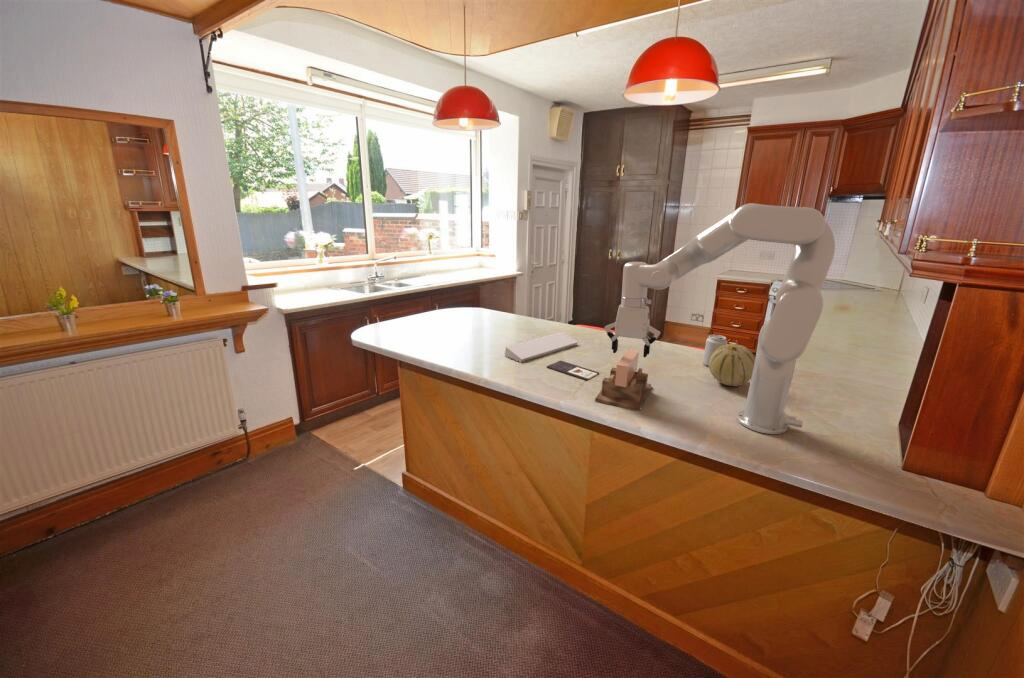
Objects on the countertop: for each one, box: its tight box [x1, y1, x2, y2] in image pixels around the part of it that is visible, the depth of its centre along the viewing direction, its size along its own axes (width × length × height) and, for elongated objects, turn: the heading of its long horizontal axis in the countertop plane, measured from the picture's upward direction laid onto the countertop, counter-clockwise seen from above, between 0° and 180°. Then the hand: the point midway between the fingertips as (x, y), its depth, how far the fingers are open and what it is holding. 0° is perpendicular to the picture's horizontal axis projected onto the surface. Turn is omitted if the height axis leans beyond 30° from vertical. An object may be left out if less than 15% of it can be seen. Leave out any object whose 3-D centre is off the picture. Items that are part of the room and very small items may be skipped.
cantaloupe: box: [708, 343, 756, 387], centre depth 145 cm, size 15×15×15 cm
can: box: [702, 334, 728, 368], centre depth 162 cm, size 8×8×12 cm
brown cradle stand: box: [594, 367, 652, 412], centre depth 138 cm, size 14×20×8 cm
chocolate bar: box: [546, 360, 600, 381], centre depth 158 cm, size 9×1×18 cm
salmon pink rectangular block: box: [615, 349, 640, 387], centre depth 136 cm, size 4×16×7 cm, turn 152°
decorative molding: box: [504, 331, 578, 363], centre depth 180 cm, size 34×5×10 cm
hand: (630, 353), depth 134 cm, fingers open, 9 cm apart
